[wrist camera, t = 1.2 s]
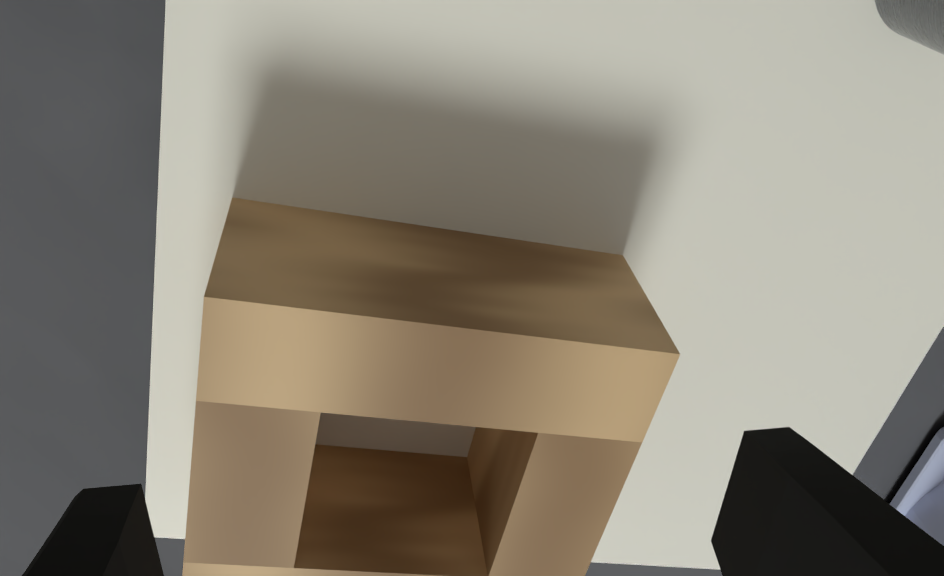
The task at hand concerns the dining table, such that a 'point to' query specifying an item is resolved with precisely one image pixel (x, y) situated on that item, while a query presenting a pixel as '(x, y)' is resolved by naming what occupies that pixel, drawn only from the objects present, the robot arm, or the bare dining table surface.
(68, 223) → the dining table surface
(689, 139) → the board
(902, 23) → the metal peg
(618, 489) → the square wooden ring
